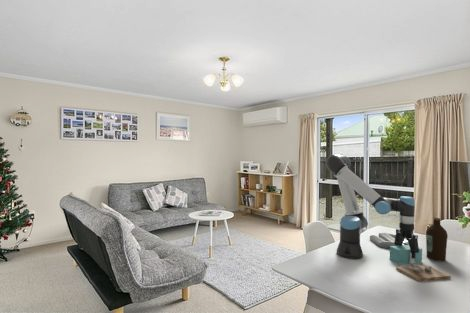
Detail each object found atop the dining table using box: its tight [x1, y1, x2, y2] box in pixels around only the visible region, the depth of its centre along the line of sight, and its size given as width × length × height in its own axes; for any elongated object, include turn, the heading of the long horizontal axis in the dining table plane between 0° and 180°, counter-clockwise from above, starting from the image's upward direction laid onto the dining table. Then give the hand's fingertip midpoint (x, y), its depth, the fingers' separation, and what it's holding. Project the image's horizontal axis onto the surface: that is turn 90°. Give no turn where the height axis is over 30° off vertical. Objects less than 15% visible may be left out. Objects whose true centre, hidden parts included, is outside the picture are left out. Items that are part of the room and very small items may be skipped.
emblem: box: [369, 232, 409, 250], centre depth 190 cm, size 28×5×28 cm
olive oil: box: [425, 217, 449, 262], centre depth 165 cm, size 11×11×25 cm
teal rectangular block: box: [389, 245, 423, 265], centre depth 161 cm, size 16×7×8 cm, turn 102°
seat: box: [395, 264, 452, 282], centre depth 143 cm, size 20×14×4 cm
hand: (405, 260), depth 161 cm, fingers open, 8 cm apart
